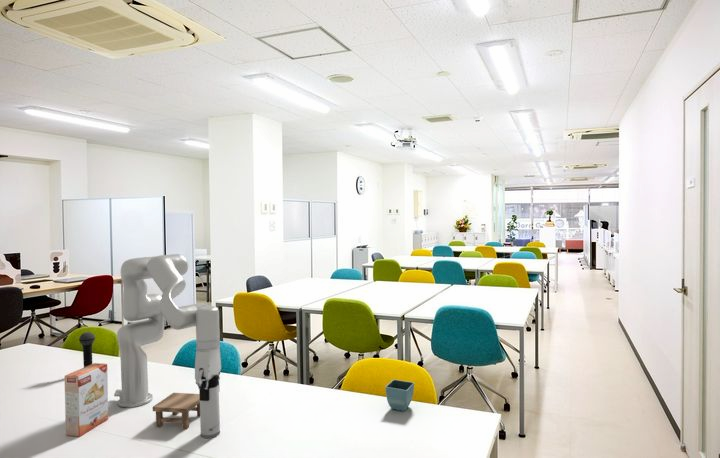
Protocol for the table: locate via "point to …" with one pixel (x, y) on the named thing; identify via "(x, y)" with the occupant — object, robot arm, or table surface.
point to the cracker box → (86, 399)
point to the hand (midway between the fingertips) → (209, 395)
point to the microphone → (87, 347)
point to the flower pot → (399, 394)
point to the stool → (177, 408)
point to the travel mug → (210, 410)
